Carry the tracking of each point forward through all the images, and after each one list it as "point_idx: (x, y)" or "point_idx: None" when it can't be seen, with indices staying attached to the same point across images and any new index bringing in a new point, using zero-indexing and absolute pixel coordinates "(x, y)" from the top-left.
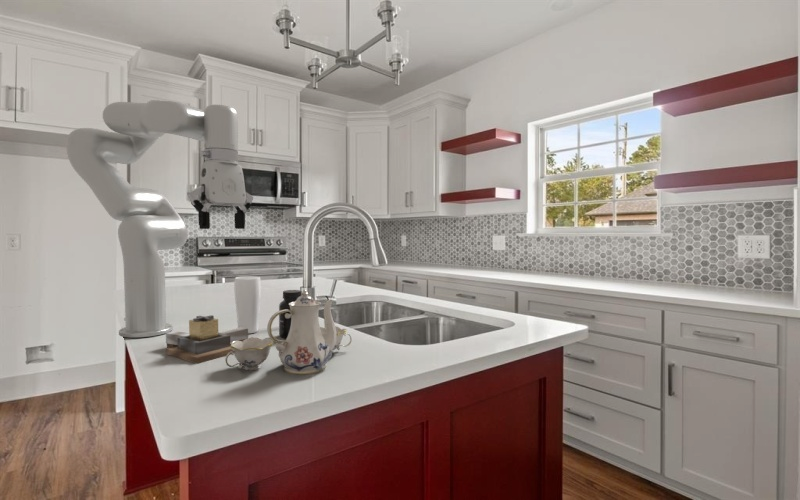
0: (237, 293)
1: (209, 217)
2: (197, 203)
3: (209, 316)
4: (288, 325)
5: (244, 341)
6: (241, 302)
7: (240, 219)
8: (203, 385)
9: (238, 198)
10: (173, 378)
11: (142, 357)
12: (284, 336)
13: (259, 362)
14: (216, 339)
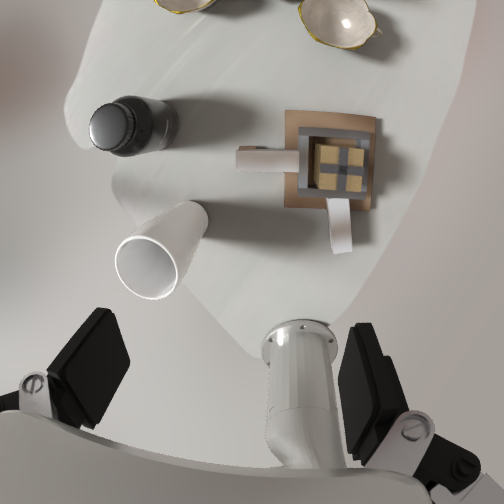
0: (191, 251)
1: (366, 377)
2: (467, 458)
3: (330, 165)
4: (165, 108)
5: (331, 44)
6: (192, 232)
7: (91, 358)
8: (414, 37)
9: (31, 467)
10: (424, 93)
11: (394, 223)
12: (177, 118)
13: (334, 8)
14: (331, 128)
